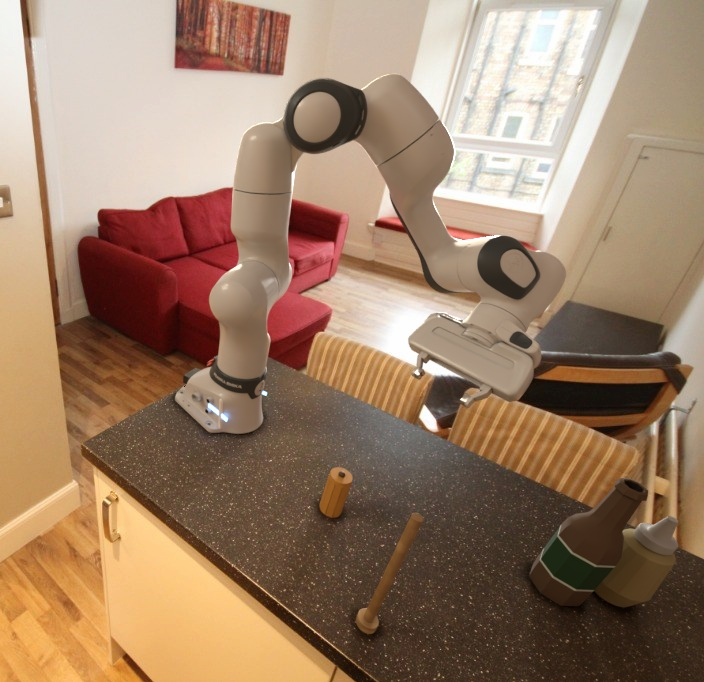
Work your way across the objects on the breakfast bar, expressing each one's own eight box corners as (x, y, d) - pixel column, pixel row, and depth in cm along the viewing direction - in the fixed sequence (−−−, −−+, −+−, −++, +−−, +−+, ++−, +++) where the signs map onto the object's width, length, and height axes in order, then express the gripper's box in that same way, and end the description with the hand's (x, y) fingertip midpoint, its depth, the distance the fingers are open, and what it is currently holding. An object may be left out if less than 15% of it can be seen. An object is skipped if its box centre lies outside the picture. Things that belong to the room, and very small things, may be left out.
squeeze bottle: (622, 622, 70) (694, 550, 62) (568, 577, 77) (626, 505, 68) (649, 604, 73) (721, 533, 65) (595, 562, 80) (654, 491, 71)
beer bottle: (516, 573, 77) (588, 472, 65) (544, 558, 80) (618, 460, 68) (564, 616, 71) (653, 514, 59) (592, 599, 73) (682, 499, 62)
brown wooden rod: (352, 623, 67) (401, 516, 55) (360, 609, 69) (409, 503, 57) (371, 638, 65) (426, 531, 54) (379, 623, 67) (434, 517, 56)
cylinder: (315, 508, 85) (327, 471, 81) (325, 496, 88) (337, 460, 83) (334, 521, 83) (347, 484, 78) (344, 509, 86) (357, 472, 81)
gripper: (432, 300, 85) (385, 354, 85) (550, 350, 70) (493, 416, 70) (438, 316, 89) (393, 368, 90) (550, 367, 75) (496, 429, 75)
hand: (438, 390), depth 80 cm, fingers open, 8 cm apart
